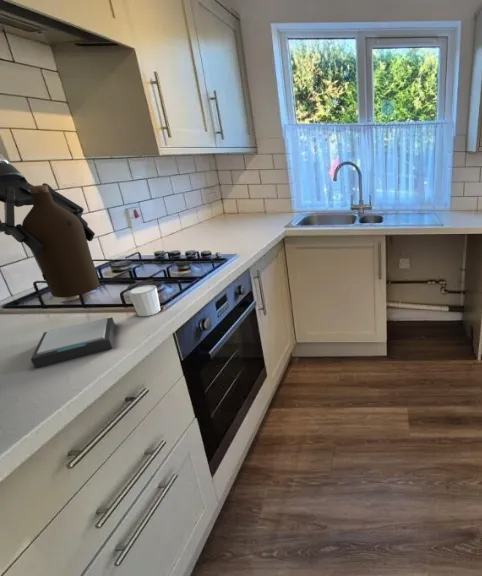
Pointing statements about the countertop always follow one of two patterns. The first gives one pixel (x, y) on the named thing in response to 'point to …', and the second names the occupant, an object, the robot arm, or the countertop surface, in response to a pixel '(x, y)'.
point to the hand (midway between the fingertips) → (67, 243)
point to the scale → (74, 341)
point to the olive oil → (60, 246)
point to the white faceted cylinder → (145, 300)
